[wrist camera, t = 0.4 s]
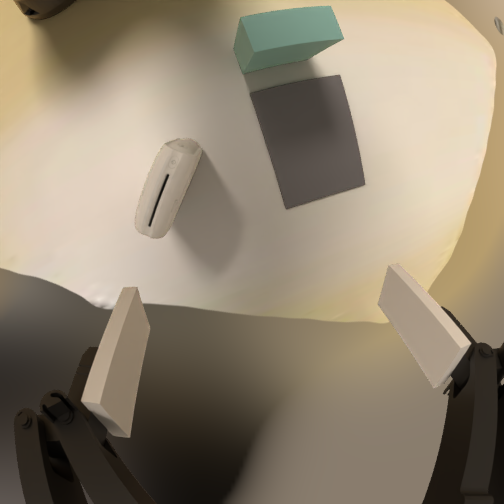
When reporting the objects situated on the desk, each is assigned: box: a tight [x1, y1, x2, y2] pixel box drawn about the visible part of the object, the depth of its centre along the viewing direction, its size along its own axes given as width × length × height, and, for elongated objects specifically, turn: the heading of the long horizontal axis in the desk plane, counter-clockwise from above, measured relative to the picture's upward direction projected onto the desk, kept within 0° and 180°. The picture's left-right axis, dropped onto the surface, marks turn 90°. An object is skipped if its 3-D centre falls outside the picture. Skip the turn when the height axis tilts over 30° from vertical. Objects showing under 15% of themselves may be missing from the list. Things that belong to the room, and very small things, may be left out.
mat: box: [250, 75, 365, 209], centre depth 34 cm, size 17×13×1 cm
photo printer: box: [135, 139, 202, 238], centre depth 29 cm, size 10×4×12 cm, turn 153°
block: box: [233, 6, 344, 74], centre depth 23 cm, size 4×9×12 cm, turn 108°
